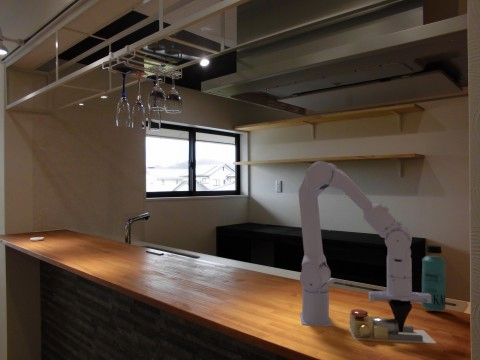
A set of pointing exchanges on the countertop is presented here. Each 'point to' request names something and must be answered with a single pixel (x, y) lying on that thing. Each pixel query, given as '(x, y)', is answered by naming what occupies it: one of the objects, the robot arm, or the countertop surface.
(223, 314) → the countertop surface
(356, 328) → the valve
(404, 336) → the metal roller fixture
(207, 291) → the countertop surface
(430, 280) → the beverage bottle
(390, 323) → the metal cylinder
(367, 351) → the countertop surface
